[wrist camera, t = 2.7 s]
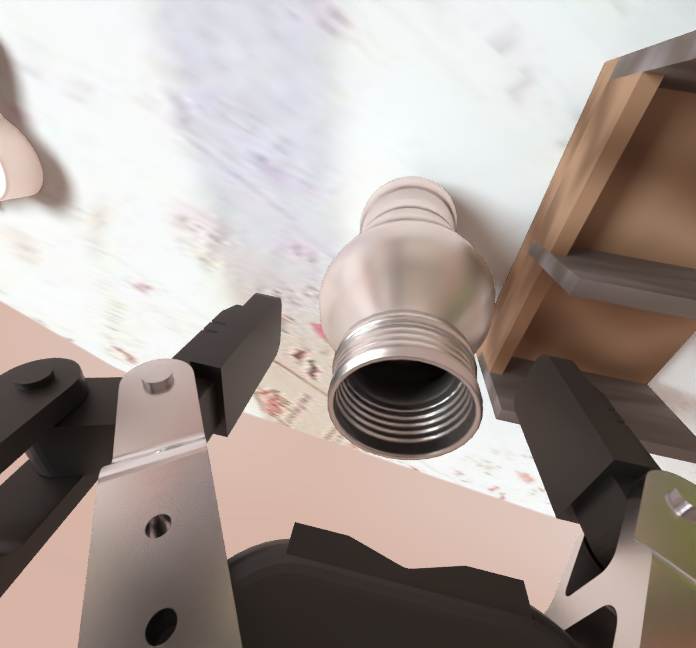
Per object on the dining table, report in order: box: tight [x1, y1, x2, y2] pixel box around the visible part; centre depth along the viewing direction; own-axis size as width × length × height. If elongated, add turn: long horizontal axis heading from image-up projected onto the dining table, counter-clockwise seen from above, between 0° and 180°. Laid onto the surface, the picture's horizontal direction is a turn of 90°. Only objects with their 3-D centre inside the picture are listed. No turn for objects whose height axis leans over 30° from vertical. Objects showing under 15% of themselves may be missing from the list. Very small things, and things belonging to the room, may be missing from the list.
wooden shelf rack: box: [476, 30, 696, 463], centre depth 20 cm, size 21×14×8 cm, turn 172°
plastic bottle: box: [319, 177, 495, 460], centre depth 16 cm, size 6×7×20 cm
